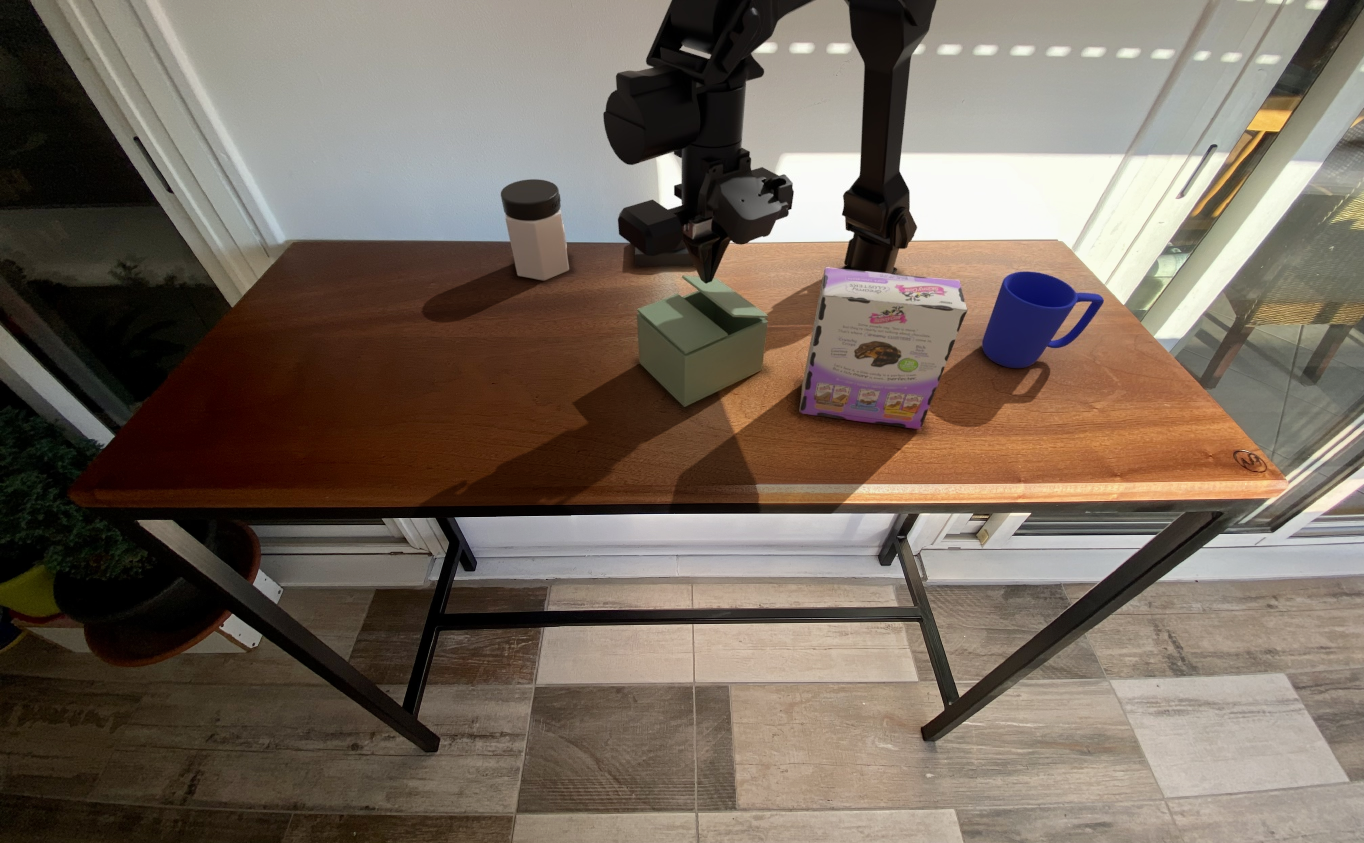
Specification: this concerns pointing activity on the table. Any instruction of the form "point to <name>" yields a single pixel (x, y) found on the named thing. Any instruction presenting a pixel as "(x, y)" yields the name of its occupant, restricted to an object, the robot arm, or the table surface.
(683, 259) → the control block
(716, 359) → the carton
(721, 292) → the flap
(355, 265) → the table surface
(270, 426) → the table surface
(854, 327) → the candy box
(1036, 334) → the mug
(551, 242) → the jar
